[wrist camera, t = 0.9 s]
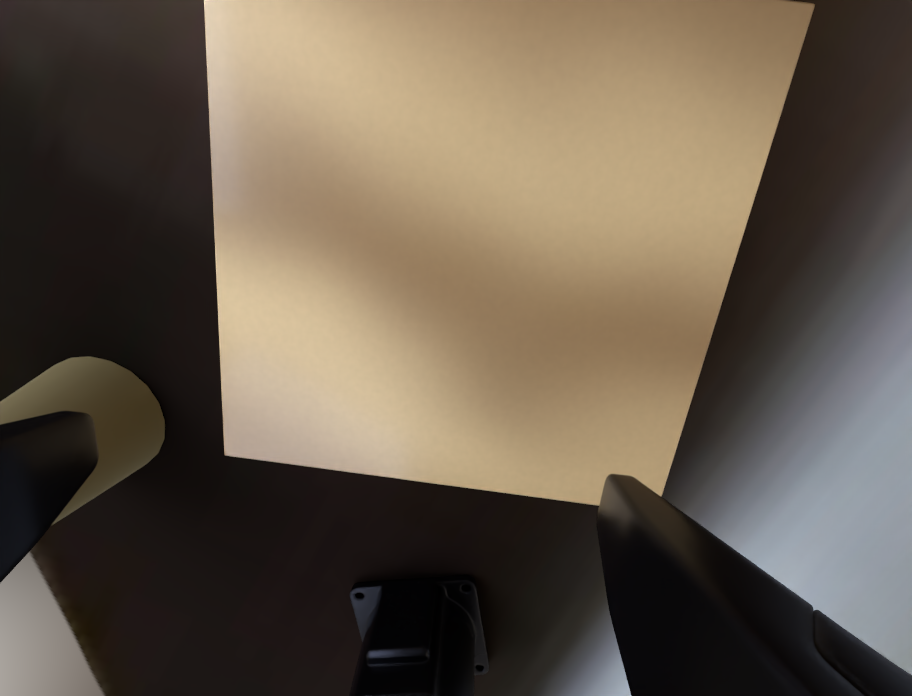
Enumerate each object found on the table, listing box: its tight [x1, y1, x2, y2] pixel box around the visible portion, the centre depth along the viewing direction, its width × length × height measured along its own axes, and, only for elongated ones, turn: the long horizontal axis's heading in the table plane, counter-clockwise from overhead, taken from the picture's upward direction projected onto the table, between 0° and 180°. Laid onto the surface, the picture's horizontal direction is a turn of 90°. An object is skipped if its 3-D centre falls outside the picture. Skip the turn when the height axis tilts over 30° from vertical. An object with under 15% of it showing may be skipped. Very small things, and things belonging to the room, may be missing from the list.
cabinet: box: [204, 0, 815, 505], centre depth 17 cm, size 15×15×6 cm
